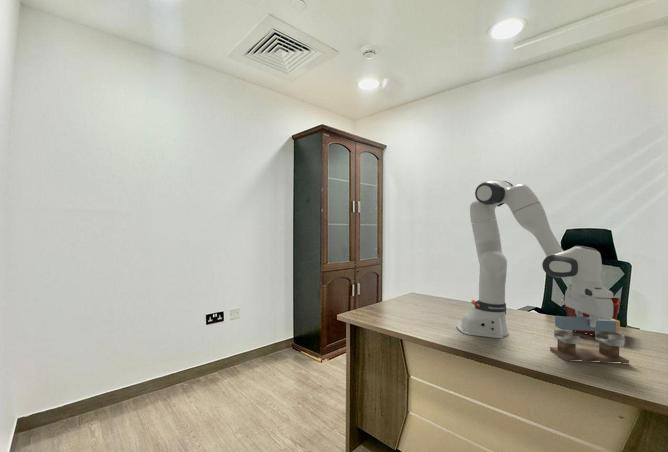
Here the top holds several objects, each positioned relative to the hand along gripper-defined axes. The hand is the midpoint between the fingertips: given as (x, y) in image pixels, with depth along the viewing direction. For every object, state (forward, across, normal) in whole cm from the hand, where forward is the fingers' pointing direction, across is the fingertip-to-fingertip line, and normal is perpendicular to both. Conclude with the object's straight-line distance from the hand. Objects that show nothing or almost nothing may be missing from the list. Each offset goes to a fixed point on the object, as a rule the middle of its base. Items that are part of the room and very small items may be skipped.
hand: (586, 324), depth 113 cm
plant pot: (+13, -31, +23) cm, 41 cm away
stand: (+12, 0, 0) cm, 13 cm away
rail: (+2, 0, 0) cm, 2 cm away
